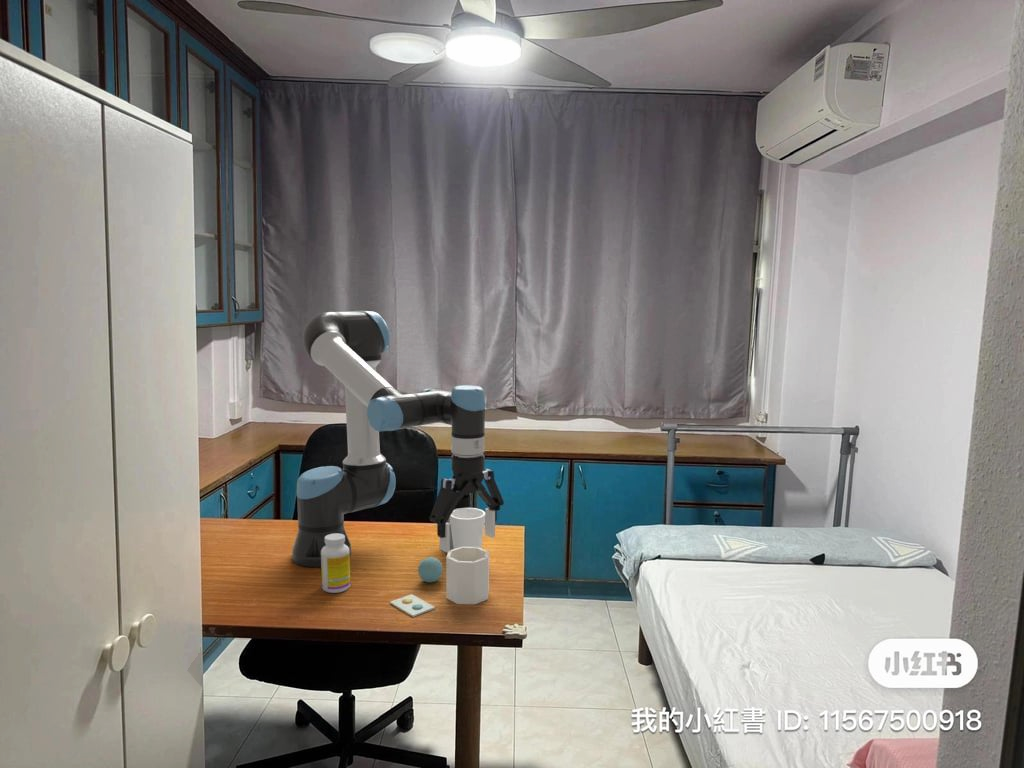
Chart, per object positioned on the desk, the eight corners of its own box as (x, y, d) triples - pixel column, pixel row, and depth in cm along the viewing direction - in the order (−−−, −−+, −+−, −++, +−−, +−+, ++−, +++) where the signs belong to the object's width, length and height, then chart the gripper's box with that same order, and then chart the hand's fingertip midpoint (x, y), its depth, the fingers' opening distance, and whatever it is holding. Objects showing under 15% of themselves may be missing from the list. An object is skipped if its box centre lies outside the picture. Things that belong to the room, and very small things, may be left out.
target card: (390, 603, 162) (390, 601, 162) (411, 595, 166) (411, 593, 166) (413, 617, 156) (412, 614, 156) (435, 608, 160) (434, 606, 160)
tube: (439, 594, 167) (438, 553, 166) (470, 582, 174) (470, 543, 172) (465, 608, 160) (465, 565, 159) (496, 595, 167) (497, 555, 165)
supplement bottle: (356, 587, 170) (355, 536, 169) (333, 596, 165) (331, 543, 164) (339, 579, 175) (337, 529, 173) (316, 588, 170) (314, 536, 168)
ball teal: (413, 581, 174) (413, 557, 173) (433, 574, 178) (432, 551, 177) (427, 588, 170) (427, 565, 169) (447, 581, 174) (447, 558, 173)
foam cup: (453, 569, 182) (452, 520, 180) (446, 556, 190) (446, 509, 188) (489, 565, 184) (489, 517, 182) (481, 552, 193) (481, 506, 191)
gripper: (433, 466, 151) (434, 561, 154) (519, 448, 168) (518, 534, 171) (413, 459, 156) (414, 551, 159) (497, 442, 173) (497, 526, 176)
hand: (467, 543), depth 165 cm, fingers open, 13 cm apart
